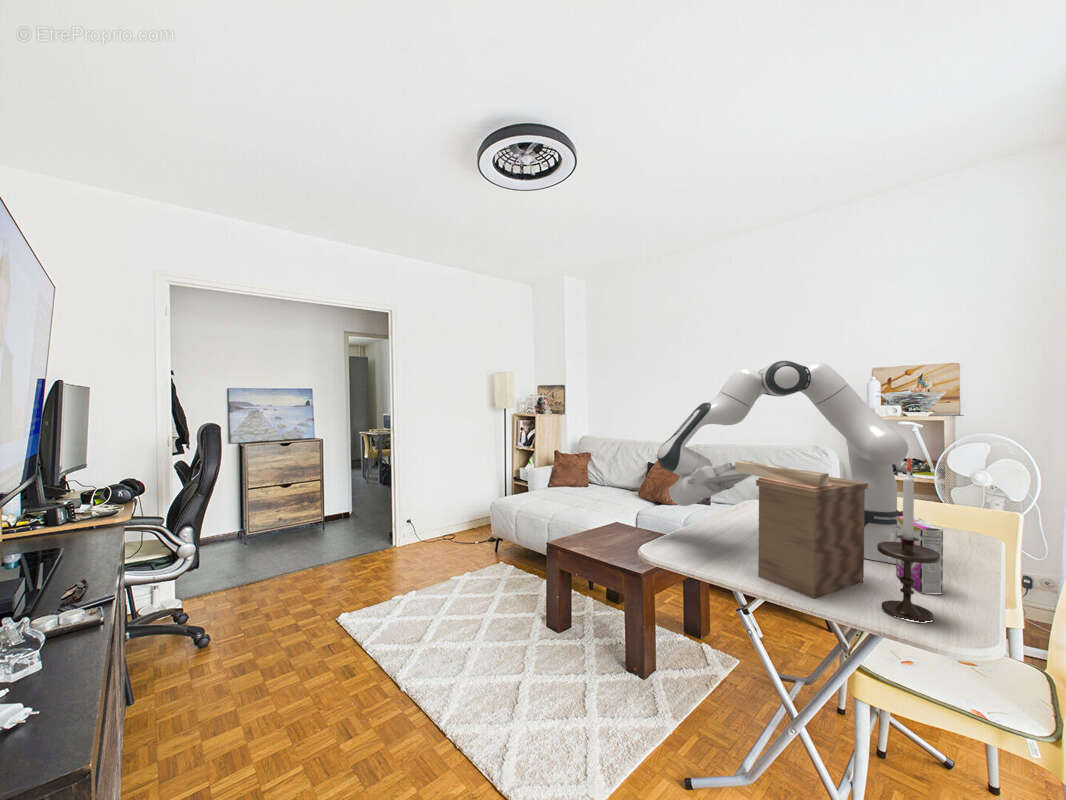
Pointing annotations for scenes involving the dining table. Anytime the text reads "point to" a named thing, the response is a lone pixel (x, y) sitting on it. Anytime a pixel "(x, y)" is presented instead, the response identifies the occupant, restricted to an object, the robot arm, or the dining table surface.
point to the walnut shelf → (811, 535)
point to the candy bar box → (924, 573)
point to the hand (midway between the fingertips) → (741, 464)
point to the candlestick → (908, 558)
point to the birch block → (783, 473)
